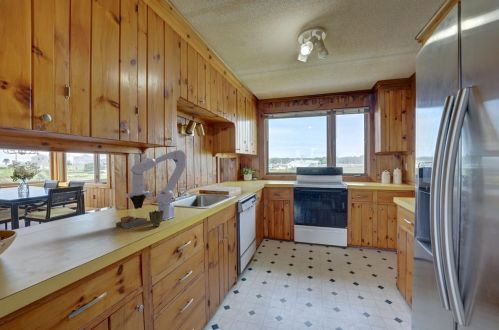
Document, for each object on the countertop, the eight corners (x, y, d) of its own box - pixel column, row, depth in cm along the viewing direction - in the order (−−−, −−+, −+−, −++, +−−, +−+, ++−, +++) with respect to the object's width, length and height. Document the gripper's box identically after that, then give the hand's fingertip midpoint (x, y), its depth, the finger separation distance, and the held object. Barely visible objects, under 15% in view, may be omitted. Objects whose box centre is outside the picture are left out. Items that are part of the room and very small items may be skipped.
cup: (166, 224, 123) (166, 210, 123) (159, 228, 116) (159, 213, 116) (153, 224, 124) (153, 209, 124) (146, 227, 116) (146, 212, 116)
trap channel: (137, 221, 131) (137, 216, 131) (147, 222, 128) (147, 218, 128) (115, 227, 118) (115, 222, 118) (125, 228, 115) (125, 224, 115)
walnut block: (128, 224, 123) (128, 215, 123) (134, 225, 121) (133, 216, 121) (120, 227, 119) (120, 217, 119) (126, 227, 117) (126, 218, 117)
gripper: (143, 183, 135) (143, 205, 135) (121, 185, 121) (121, 210, 121) (151, 183, 132) (152, 206, 132) (130, 186, 118) (130, 211, 119)
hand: (138, 208), depth 126 cm, fingers closed
